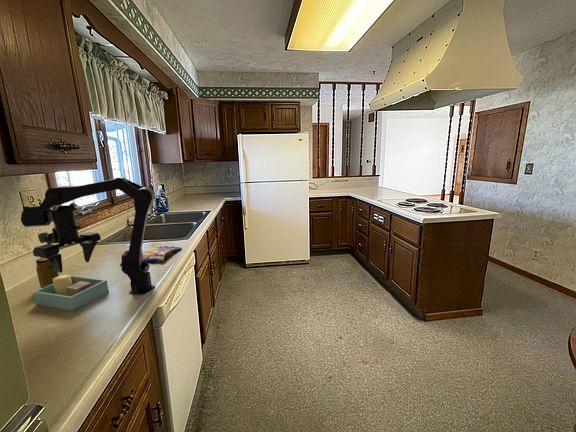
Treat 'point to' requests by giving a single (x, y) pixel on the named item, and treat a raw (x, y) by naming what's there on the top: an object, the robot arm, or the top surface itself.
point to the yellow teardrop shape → (62, 284)
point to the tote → (74, 302)
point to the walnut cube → (77, 288)
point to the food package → (159, 254)
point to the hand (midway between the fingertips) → (74, 267)
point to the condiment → (45, 272)
